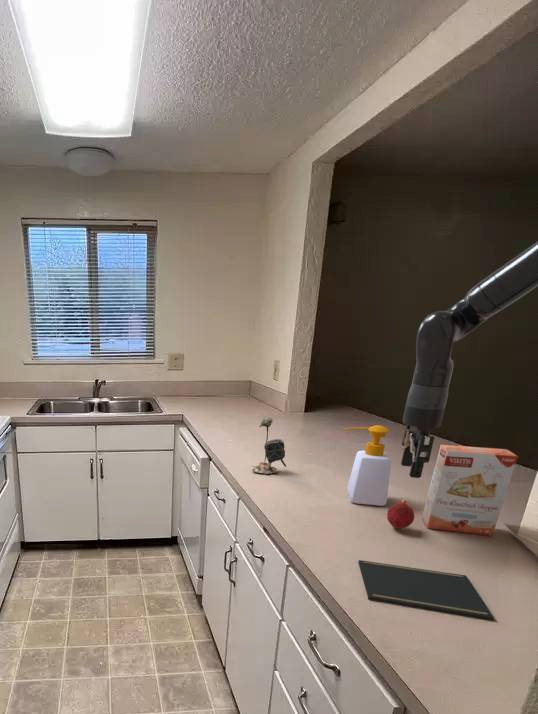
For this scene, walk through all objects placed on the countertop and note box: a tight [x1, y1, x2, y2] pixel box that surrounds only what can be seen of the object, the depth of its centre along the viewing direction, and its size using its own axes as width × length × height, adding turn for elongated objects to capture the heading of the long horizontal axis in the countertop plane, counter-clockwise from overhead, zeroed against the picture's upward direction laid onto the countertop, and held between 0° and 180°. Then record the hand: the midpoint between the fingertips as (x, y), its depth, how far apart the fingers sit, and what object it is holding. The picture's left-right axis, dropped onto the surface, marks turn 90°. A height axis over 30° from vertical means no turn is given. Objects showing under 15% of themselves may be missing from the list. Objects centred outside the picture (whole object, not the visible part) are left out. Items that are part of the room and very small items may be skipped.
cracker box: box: [421, 444, 519, 537], centre depth 106 cm, size 14×6×21 cm, turn 72°
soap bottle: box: [342, 424, 392, 507], centre depth 124 cm, size 10×14×22 cm
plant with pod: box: [252, 415, 287, 475], centre depth 147 cm, size 8×11×20 cm
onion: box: [386, 499, 415, 530], centre depth 108 cm, size 6×6×8 cm
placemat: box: [358, 559, 495, 621], centre depth 86 cm, size 20×14×1 cm
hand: (410, 471), depth 104 cm, fingers open, 8 cm apart
